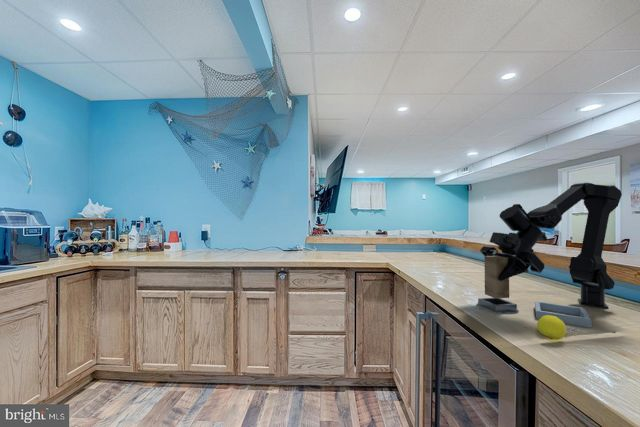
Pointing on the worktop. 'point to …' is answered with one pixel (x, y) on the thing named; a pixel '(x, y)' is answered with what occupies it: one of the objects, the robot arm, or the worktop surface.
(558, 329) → the lemon
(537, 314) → the tray
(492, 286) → the post
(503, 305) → the base
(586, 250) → the robot arm
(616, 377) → the worktop surface
